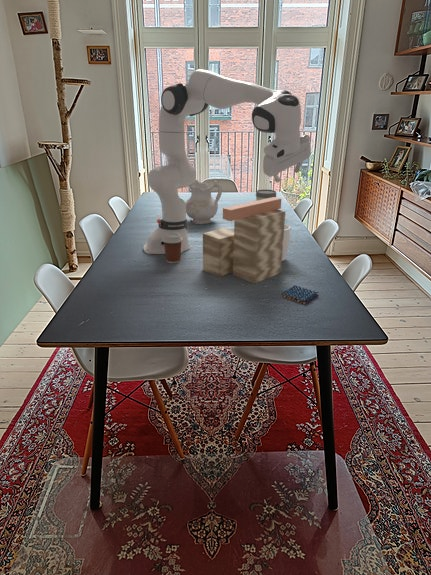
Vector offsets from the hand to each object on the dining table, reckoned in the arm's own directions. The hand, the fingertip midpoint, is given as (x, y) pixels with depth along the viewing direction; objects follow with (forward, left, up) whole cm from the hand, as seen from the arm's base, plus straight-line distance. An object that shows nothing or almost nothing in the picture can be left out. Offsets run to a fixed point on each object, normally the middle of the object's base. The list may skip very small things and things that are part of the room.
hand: (287, 176), depth 155 cm
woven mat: (-2, -26, -39) cm, 47 cm away
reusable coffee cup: (+22, +85, -39) cm, 96 cm away
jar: (+3, +12, -39) cm, 41 cm away
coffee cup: (-43, +19, -39) cm, 61 cm away
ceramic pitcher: (-18, +79, -39) cm, 90 cm away
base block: (-24, +5, -39) cm, 46 cm away
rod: (-15, -5, -13) cm, 20 cm away
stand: (-11, -3, -39) cm, 40 cm away
